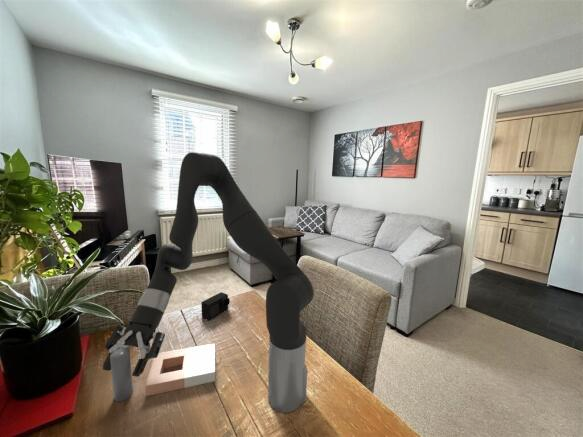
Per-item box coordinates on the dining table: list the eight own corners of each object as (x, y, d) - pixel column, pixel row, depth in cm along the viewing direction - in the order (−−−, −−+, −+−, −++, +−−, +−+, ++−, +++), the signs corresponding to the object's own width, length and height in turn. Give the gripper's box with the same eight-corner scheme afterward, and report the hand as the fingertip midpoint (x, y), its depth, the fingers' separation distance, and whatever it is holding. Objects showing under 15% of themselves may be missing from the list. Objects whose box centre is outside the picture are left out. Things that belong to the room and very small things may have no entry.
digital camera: (211, 322, 95) (210, 305, 93) (201, 317, 97) (201, 301, 96) (230, 310, 103) (230, 295, 102) (221, 306, 106) (221, 291, 105)
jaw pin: (135, 386, 65) (131, 346, 63) (130, 399, 61) (126, 357, 59) (117, 390, 64) (113, 349, 62) (111, 403, 60) (107, 360, 58)
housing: (214, 351, 79) (214, 343, 78) (215, 381, 68) (215, 371, 67) (155, 362, 74) (155, 353, 73) (146, 396, 62) (145, 386, 62)
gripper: (121, 300, 69) (85, 367, 59) (166, 307, 66) (136, 377, 57) (137, 308, 75) (107, 369, 65) (179, 314, 72) (154, 379, 63)
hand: (120, 373), depth 61 cm, fingers open, 8 cm apart
